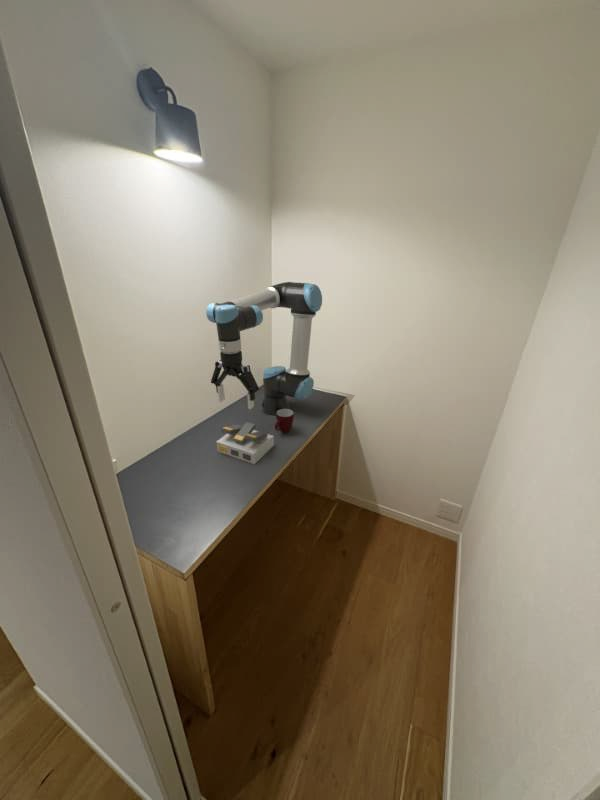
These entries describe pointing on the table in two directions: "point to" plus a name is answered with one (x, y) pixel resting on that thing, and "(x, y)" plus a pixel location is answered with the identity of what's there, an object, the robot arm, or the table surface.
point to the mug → (284, 420)
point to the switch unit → (245, 447)
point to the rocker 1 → (231, 429)
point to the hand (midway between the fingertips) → (236, 404)
